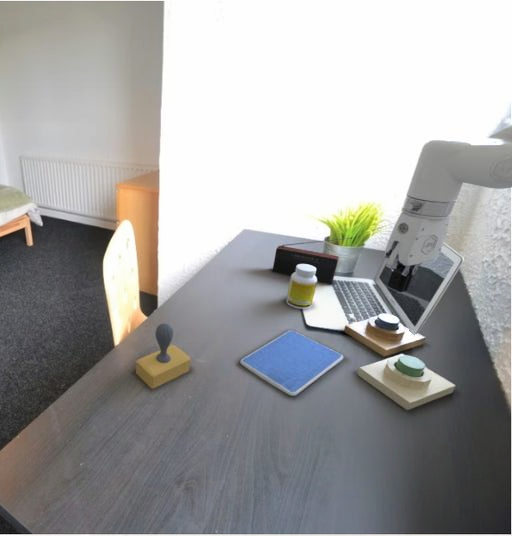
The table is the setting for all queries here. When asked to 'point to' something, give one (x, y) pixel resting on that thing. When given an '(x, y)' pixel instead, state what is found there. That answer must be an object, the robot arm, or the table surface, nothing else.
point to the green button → (410, 366)
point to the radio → (305, 262)
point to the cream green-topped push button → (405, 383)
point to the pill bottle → (302, 287)
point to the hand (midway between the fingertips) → (396, 288)
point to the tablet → (291, 362)
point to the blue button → (387, 321)
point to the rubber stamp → (163, 360)
